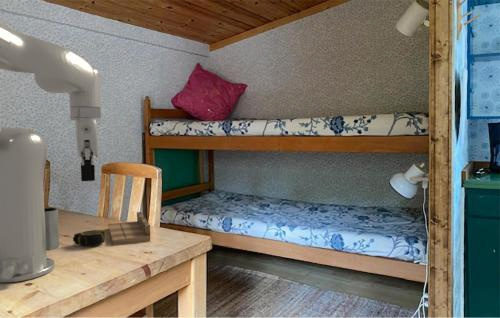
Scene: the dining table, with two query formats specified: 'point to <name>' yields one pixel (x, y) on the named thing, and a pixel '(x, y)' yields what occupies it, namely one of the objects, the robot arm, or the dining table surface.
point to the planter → (51, 228)
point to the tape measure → (89, 238)
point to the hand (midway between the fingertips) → (87, 178)
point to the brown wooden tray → (130, 231)
